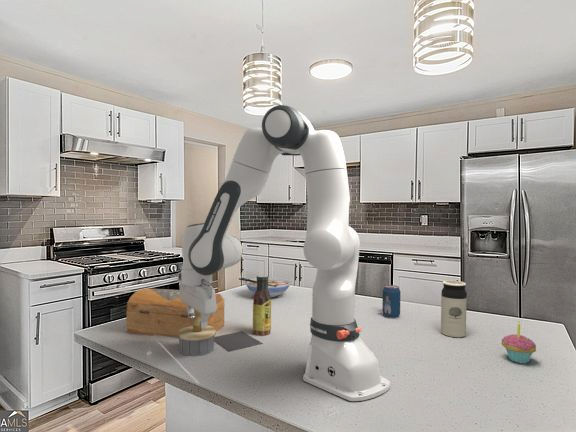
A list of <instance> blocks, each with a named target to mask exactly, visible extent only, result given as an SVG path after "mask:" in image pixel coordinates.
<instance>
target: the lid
mask: <svg viewBox="0 0 576 432" xmlns="http://www.w3.org/2000/svg"><path fill="white" fill-rule="evenodd" d="M200 321H201V317H200V316H196V317H193V326H188V327H185V328H182V329H180V330H179V332H178V337H177V338H178V339H179V338H181V339H183V340H189V341H198V340H205V339H208V338H211V337H213V336H214V337H216V334H217V332H216V329H215V328H214V327H212V326H208V325H207V327H205V328H202V327H200Z"/></svg>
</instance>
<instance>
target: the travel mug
mask: <svg viewBox="0 0 576 432" xmlns="http://www.w3.org/2000/svg"><path fill="white" fill-rule="evenodd" d="M442 285H443V287H442V289H441V300H440V303H441V305H440V306H441V307H440V333H441V334H442V335H444V336H446V337H450V338H451V337H452V338H459V339H460V338H464V337H465V336H466V335H467V300H468V299H467V298H468V297H467V295H468V294H467V291H466V288H465V287H466V285H467V284H466V282H464V281H460V280H443V281H442Z"/></svg>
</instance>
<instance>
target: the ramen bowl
mask: <svg viewBox="0 0 576 432" xmlns="http://www.w3.org/2000/svg"><path fill="white" fill-rule="evenodd" d="M238 280H239V281H243V282H244V284H245V286H246V287H247V289H248V290H249V291H250V293H252V294H253V295H254V293H255V292H256V290H257V277H252V278H244V277H239V278H238ZM291 284H292V280H290V279H288V278H284V277H276V276H275V277H272V276H268V290H269V294H270V296H271V299H273V298H276V297H277V296H279V295H283V294H284V293H285V292H287V290H288V289H289V288H290V285H291Z"/></svg>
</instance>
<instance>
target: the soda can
mask: <svg viewBox="0 0 576 432" xmlns="http://www.w3.org/2000/svg"><path fill="white" fill-rule="evenodd" d="M381 312H382V316H384V317H385V318H386V319H387V318H389V319H397V318H399V317H400V315H401V289H400V286H398V285H393V284H385V285H384V286H383V289H382V310H381Z"/></svg>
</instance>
